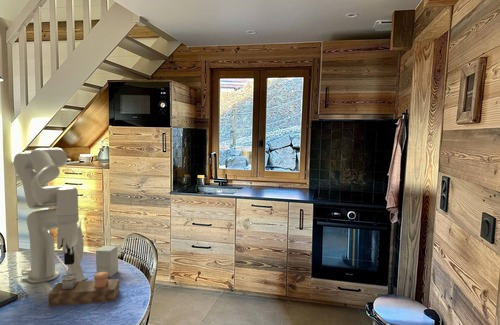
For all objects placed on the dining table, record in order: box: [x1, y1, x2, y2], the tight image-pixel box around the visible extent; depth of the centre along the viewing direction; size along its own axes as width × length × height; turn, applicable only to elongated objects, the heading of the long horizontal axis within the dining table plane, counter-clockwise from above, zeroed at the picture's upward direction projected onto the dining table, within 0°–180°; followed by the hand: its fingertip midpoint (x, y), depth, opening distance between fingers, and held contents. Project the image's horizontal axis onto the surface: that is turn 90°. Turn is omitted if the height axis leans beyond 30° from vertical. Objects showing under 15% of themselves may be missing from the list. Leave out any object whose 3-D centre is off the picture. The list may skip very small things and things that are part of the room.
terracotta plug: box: [93, 272, 109, 288], centre depth 133 cm, size 5×5×6 cm
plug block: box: [47, 278, 120, 308], centre depth 133 cm, size 24×10×5 cm, turn 101°
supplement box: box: [95, 245, 119, 278], centre depth 156 cm, size 7×7×13 cm
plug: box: [61, 273, 77, 290], centre depth 131 cm, size 5×5×6 cm
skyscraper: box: [66, 221, 88, 282], centre depth 147 cm, size 8×8×28 cm
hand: (69, 263), depth 130 cm, fingers closed
